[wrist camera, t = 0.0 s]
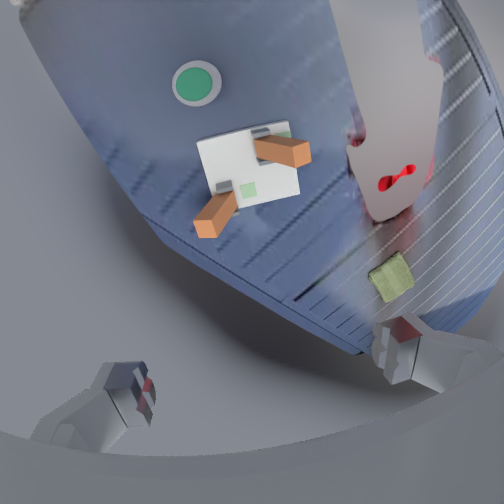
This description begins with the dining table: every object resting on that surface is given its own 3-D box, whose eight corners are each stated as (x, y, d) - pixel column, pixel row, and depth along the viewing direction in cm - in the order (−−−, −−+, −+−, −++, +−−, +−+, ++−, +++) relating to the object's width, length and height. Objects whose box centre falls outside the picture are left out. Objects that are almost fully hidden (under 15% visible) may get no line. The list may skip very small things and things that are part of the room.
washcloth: (383, 301, 90) (387, 308, 87) (364, 273, 81) (368, 279, 78) (414, 278, 86) (418, 284, 83) (399, 246, 77) (404, 252, 74)
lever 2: (251, 137, 51) (291, 145, 43) (266, 132, 53) (308, 139, 44) (255, 158, 54) (295, 170, 45) (270, 152, 55) (311, 163, 46)
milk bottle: (222, 97, 50) (229, 107, 33) (182, 105, 49) (168, 119, 33) (217, 60, 45) (221, 50, 29) (176, 67, 45) (158, 62, 28)
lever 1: (218, 188, 58) (192, 219, 49) (234, 187, 57) (210, 218, 48) (223, 206, 60) (199, 239, 52) (239, 205, 59) (217, 239, 50)
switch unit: (196, 140, 54) (195, 146, 49) (285, 119, 54) (293, 124, 49) (217, 209, 63) (217, 221, 58) (297, 190, 63) (304, 200, 58)
